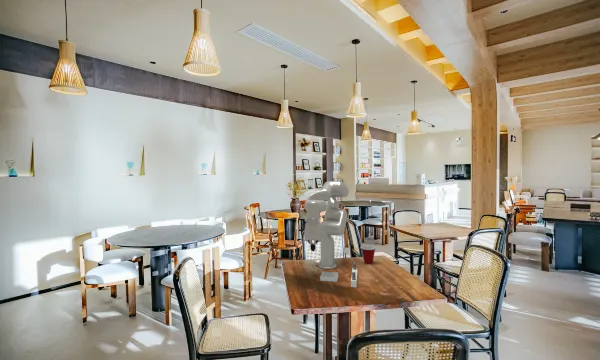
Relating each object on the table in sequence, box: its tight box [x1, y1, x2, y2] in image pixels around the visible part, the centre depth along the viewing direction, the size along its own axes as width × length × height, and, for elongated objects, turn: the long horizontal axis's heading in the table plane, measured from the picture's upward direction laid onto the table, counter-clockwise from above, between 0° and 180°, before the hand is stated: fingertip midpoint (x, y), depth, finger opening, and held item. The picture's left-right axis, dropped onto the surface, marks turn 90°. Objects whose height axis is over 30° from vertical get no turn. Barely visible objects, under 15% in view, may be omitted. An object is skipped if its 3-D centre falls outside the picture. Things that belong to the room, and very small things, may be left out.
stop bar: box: [350, 262, 358, 288], centre depth 192 cm, size 3×26×8 cm, turn 169°
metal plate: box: [319, 271, 339, 283], centre depth 195 cm, size 10×10×3 cm
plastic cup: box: [360, 244, 377, 265], centre depth 230 cm, size 11×11×12 cm
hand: (313, 250), depth 197 cm, fingers closed
